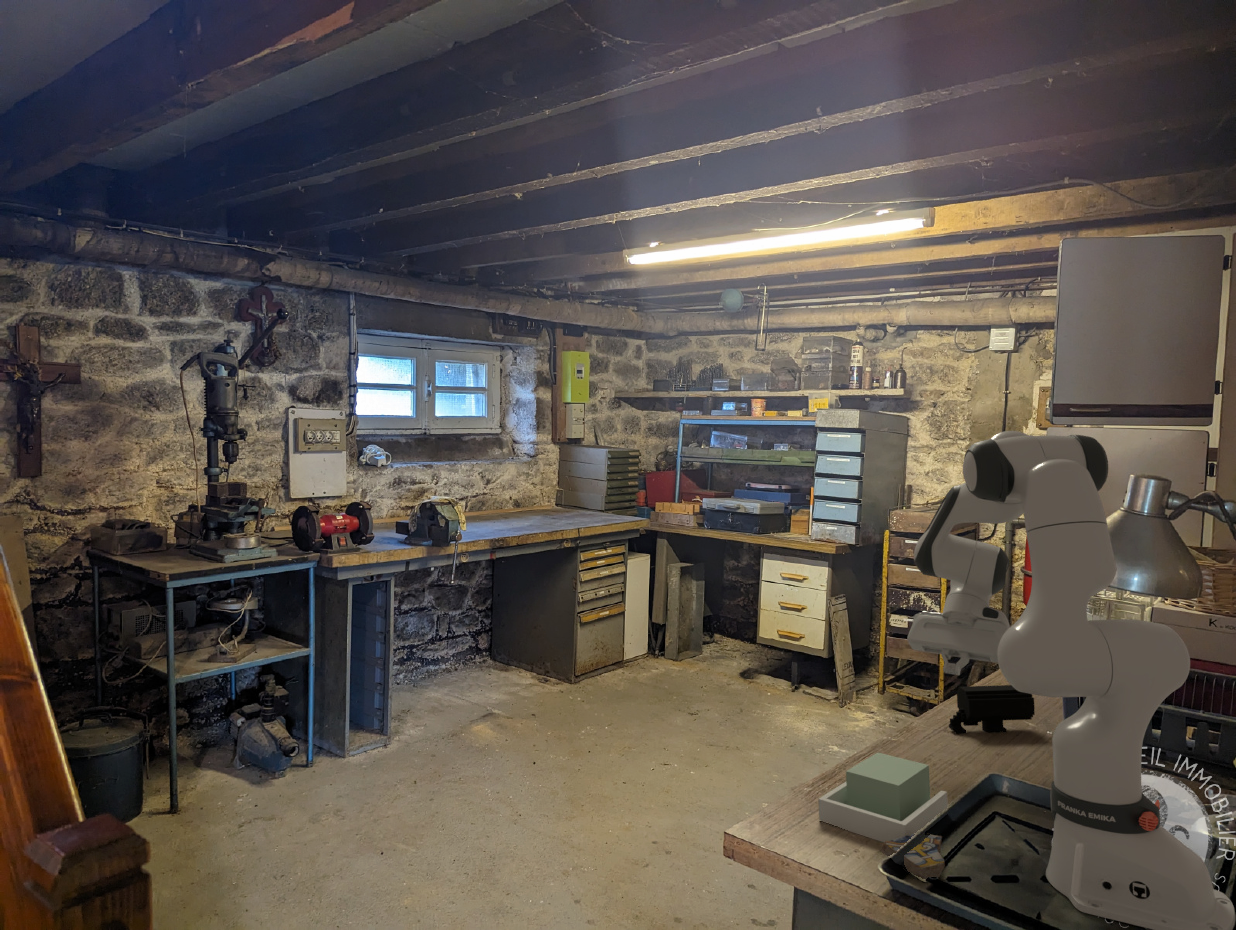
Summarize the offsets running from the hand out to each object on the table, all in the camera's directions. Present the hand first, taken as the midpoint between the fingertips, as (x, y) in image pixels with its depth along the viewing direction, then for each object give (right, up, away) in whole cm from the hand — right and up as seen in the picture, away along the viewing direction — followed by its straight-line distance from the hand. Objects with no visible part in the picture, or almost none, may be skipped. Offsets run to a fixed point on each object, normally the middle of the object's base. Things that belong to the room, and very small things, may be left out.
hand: (951, 672), depth 159 cm
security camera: (+18, -19, +20) cm, 33 cm away
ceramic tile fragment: (-22, -21, -38) cm, 48 cm away
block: (-19, -20, -19) cm, 34 cm away
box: (-21, -20, -21) cm, 36 cm away
